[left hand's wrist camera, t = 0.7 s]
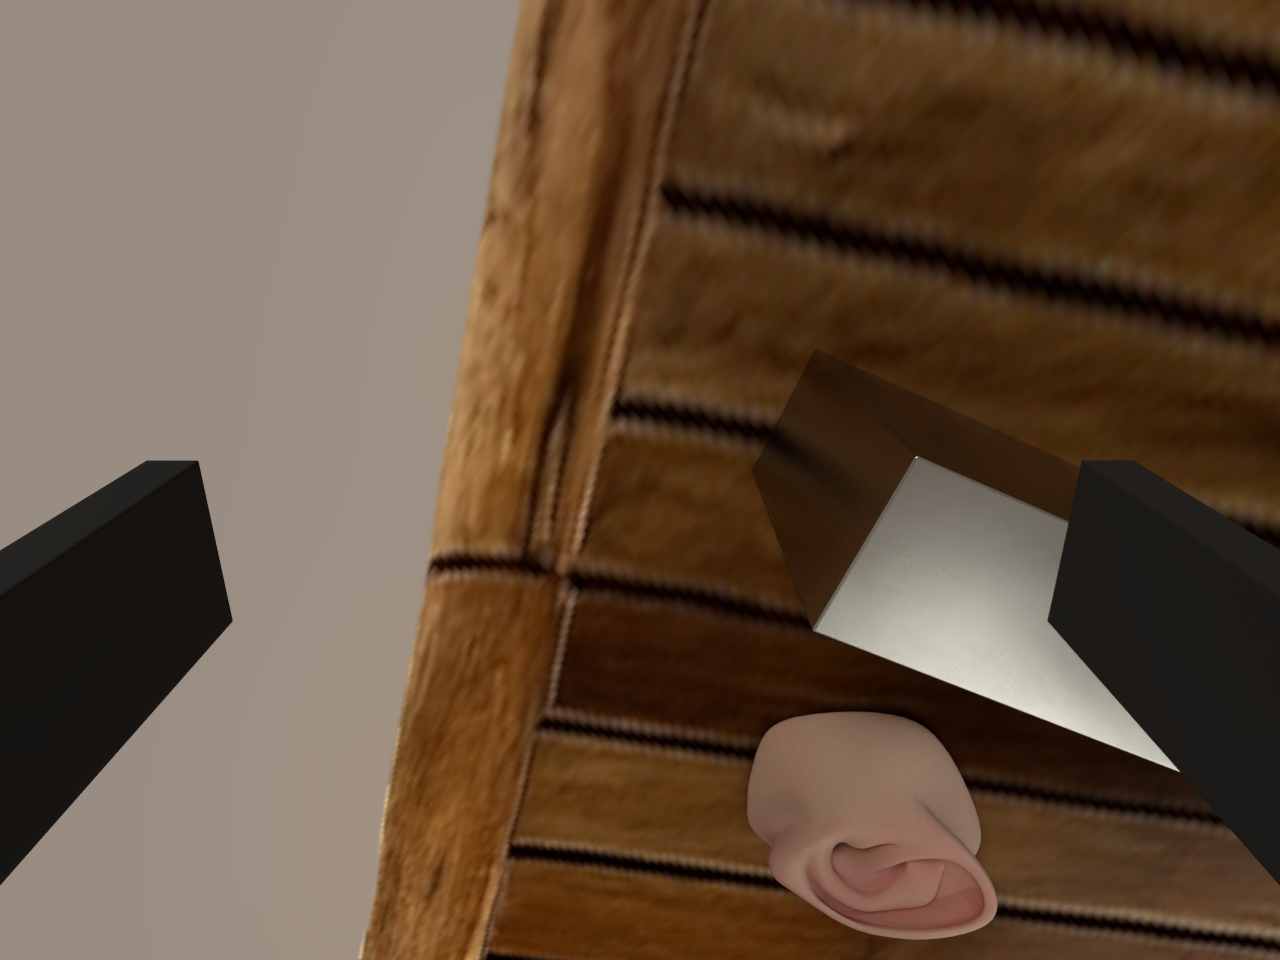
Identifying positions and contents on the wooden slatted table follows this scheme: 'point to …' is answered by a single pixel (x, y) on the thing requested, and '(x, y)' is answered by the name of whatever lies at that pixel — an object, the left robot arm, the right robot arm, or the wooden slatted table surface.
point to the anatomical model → (871, 824)
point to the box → (932, 545)
